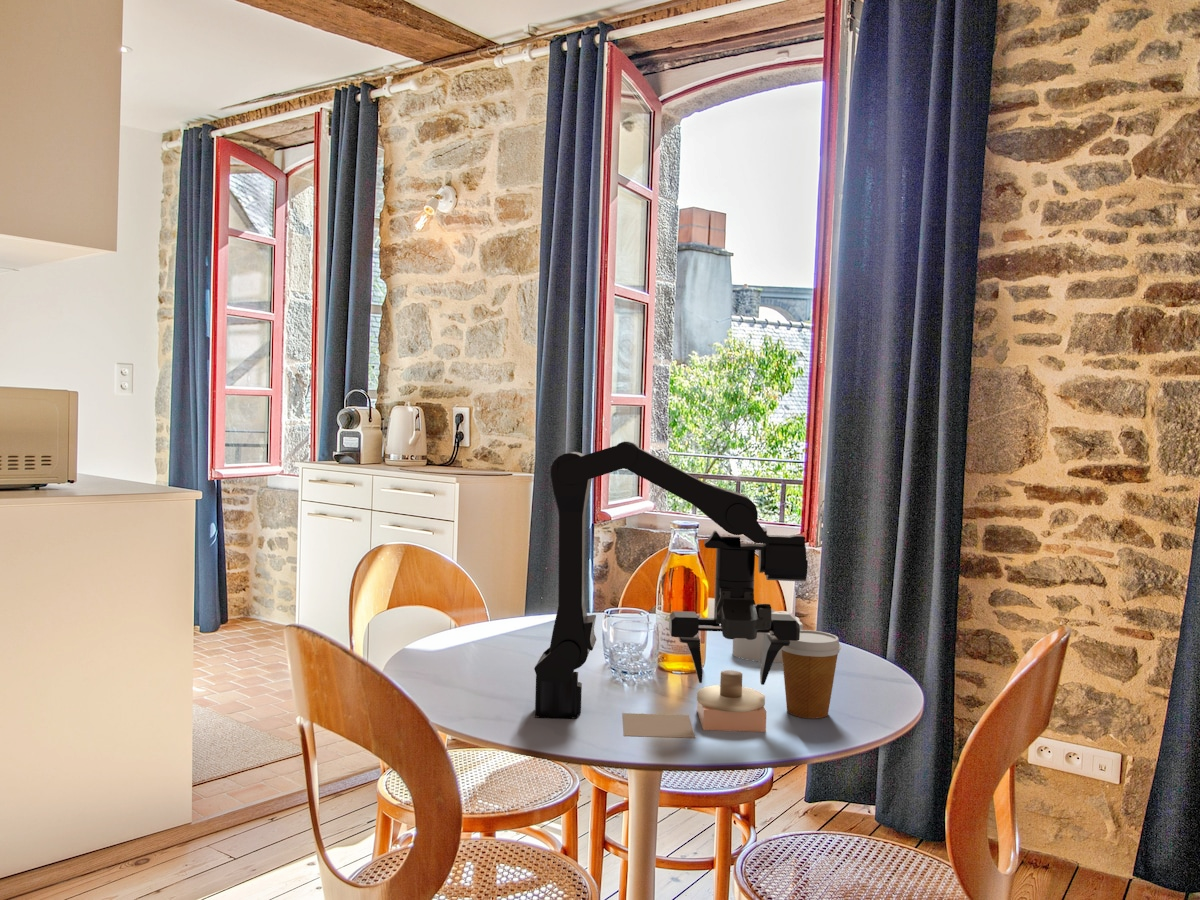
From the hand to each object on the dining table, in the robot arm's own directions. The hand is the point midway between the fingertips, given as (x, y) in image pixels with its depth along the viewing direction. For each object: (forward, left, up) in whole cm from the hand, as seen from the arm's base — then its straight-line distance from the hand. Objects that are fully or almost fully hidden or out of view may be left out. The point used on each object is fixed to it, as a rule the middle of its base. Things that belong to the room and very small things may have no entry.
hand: (731, 683), depth 137 cm
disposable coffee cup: (+13, +7, -6) cm, 16 cm away
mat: (-11, -3, -6) cm, 13 cm away
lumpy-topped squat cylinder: (+13, +42, -6) cm, 45 cm away
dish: (0, 0, -6) cm, 6 cm away
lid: (0, 0, -3) cm, 3 cm away
